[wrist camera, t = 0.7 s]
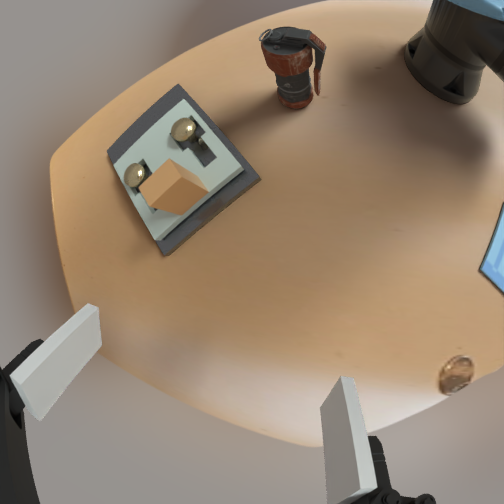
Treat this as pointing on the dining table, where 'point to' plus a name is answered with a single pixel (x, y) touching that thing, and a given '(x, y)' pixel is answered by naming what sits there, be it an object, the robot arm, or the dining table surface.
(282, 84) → the grenade
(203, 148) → the mounting plate
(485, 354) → the dining table surface
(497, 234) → the light blue flat panel
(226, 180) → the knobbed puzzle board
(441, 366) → the dining table surface
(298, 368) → the dining table surface
